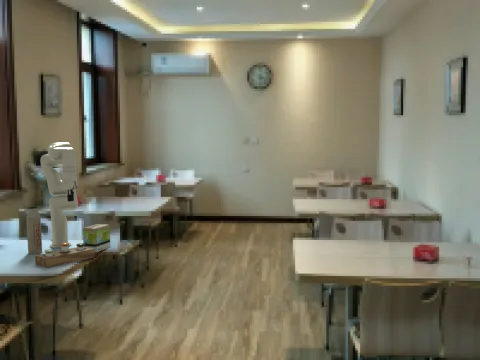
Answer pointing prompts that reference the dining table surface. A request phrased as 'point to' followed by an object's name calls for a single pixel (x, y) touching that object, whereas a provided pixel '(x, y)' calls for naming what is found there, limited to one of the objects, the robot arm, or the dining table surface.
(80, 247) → the plug
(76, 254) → the socket block
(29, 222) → the thermos bottle
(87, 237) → the tea box
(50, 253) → the plug
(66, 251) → the plug mid
